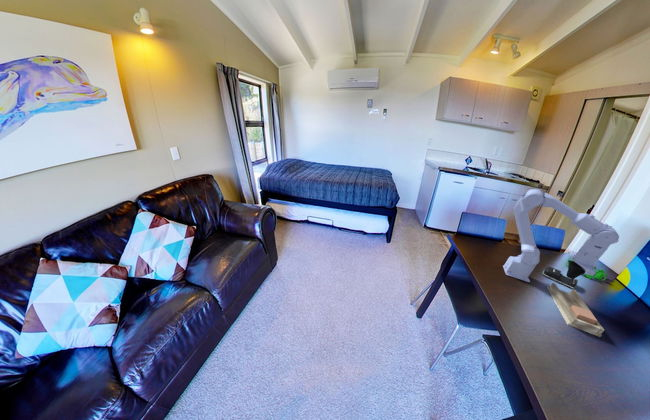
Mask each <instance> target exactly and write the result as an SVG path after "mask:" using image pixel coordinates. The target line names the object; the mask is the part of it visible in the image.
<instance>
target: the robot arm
mask: <svg viewBox="0 0 650 420" xmlns="http://www.w3.org/2000/svg"><path fill="white" fill-rule="evenodd" d="M538 206H541V208H551V209H553V210H555V211H557V212H558V213H560V214H562V215H563V216H565V217H567V218H569V219H570V224H571V225H573V226H575V227H577V228H578V229H580V230H582V231H583V232H584V233H586V234H588V235H590V237H589V238H587V240H586V241H585V242H584V243H583V245H582V246H581V247H580V248H579V250H578V251H577V252H576V251H571V252H570V254H569V256H570V257H571V258H572V259H569V261H568V260H567V262H568V263H567V264H569V266H568V268H567V271H566V274H565V275H566V276H565V277H568V278H571V279H577V278H578V277H580V276H581V275H584V274H585V275H586V274H588V275H591V276H593V275H594V274H595V275H596V273H597V271H596V272H595V270H596V269H595V270H594V267H596V268H597V267H598V264H596V263H597V262H598V260H600V259H601V257H602V256H603V255H604V254H605V253H606V251H607V250H608V249H609V247H610V246H611V245H614V244H617V243H619V239H620V235H619V234H618V232H617V230H616V229H615V228H614V227H612V225H609V224H608V223H604V222H601V221H599V220H598V219H596V216H595V215H594V214H591V213H590V214H589V213H586V212H585V213H584V212H578V211H576V210H575V209H573V208H572V207H570V206H568V205H567V204H565V203H564V202H562V201H561V200H560V199H558V198H556V197H554V196H553V195H551V194H549V193H547V192H544V191H543V190H541V189H538V188H531V189H529V190H527V191H525V192H523V194H522V195H521V197H520V198H519V200H518V201H517V202H516V204H515V206H514V207H513V214H514V217H515V218H514V219H515V223H516V227H517V232H518V237H519V241H520V247H521V249H520V250H521V254H518V255H517V256H512V255H510V256H509V257H508V258H507V260H506V262H505V263H504V265H502V267H503V270H504V273H505V275H506V276H510V277H512V278H515V279H518V280H520V281H524V282H527V283H531V279H530V278H529V276H530V275H531V273H532V272H533V271H534V269H535V268H536V266H537V265H538V264H539V263H540V255H541V250H540V249H539V248H538V247H537V244H536V242H535V238H534V234H533V229H532V224H531V220H530V217H529V216H530V215H529V212H530V211H531V210H532V209H534V208H537V207H538ZM571 260H573V261H571ZM595 275H594V276H595Z"/></svg>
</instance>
